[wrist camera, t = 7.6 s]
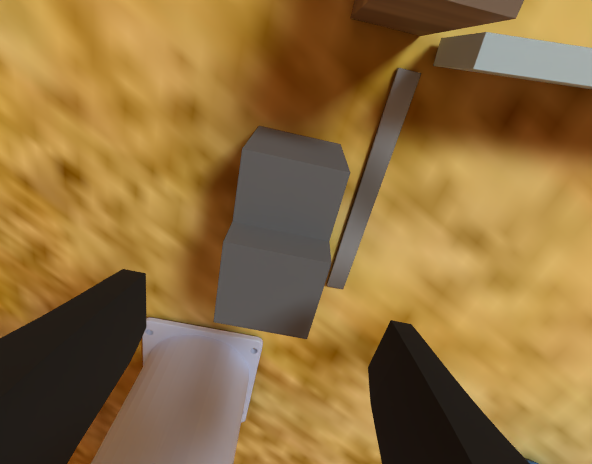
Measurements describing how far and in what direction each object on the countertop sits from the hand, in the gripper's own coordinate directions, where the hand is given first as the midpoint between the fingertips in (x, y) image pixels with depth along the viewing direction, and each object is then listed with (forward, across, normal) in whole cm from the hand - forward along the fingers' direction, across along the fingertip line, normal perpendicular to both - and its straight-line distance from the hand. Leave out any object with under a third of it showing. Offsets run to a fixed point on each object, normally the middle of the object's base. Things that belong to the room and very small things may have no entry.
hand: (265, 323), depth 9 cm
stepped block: (+9, 0, 0) cm, 9 cm away
